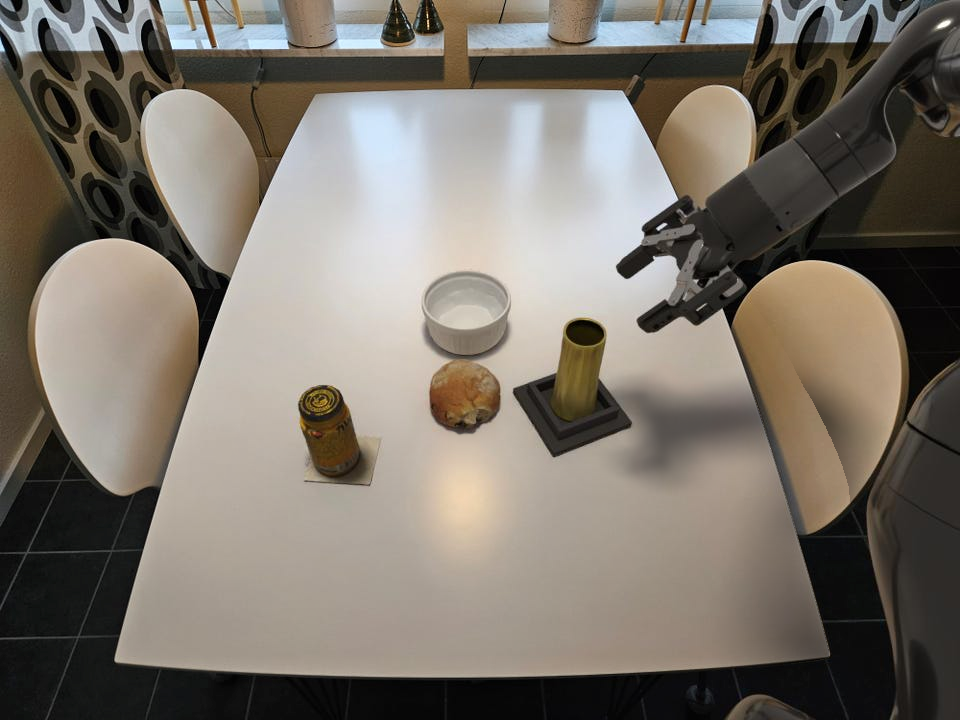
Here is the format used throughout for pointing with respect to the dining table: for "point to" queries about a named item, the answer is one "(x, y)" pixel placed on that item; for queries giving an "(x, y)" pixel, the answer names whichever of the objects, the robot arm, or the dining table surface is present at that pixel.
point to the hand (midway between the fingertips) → (630, 299)
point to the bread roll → (464, 394)
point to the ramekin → (466, 310)
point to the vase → (578, 369)
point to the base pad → (567, 433)
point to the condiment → (334, 439)
